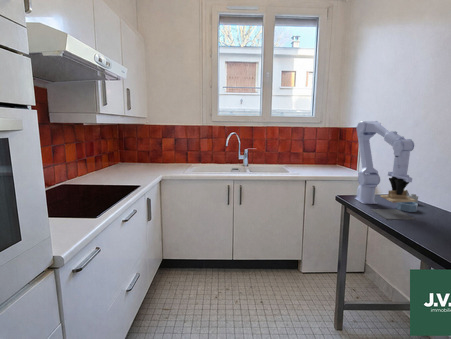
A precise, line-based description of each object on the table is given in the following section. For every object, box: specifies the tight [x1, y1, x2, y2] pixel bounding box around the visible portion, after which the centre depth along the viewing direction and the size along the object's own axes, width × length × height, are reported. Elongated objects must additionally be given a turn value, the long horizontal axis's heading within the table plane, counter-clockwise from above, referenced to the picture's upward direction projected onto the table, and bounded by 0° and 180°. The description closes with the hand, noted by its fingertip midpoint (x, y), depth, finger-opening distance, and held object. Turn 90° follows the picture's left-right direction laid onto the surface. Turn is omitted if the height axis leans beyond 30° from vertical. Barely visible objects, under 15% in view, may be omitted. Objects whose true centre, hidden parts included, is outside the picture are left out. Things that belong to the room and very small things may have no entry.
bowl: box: [396, 202, 419, 213], centre depth 132 cm, size 8×8×4 cm
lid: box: [380, 189, 415, 204], centre depth 124 cm, size 10×10×4 cm
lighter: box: [404, 188, 419, 204], centre depth 141 cm, size 7×2×8 cm, turn 77°
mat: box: [370, 208, 417, 221], centre depth 125 cm, size 13×13×1 cm
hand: (397, 193), depth 124 cm, fingers closed on lid, 2 cm apart
